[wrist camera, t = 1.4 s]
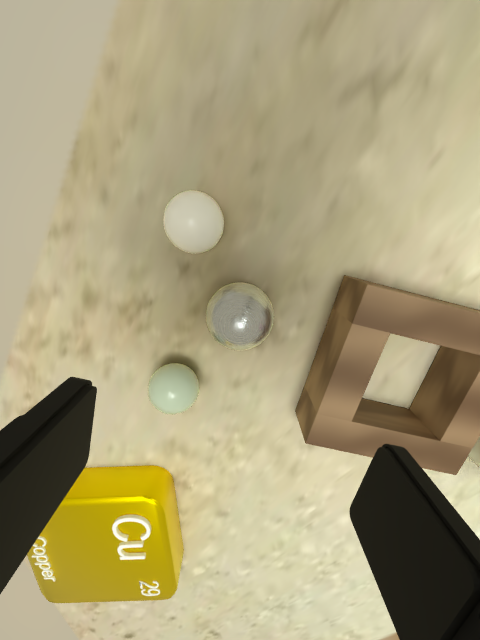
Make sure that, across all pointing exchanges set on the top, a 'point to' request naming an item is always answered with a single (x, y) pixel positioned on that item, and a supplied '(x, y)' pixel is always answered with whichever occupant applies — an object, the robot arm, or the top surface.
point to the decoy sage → (173, 388)
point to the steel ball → (239, 316)
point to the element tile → (112, 538)
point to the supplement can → (475, 453)
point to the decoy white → (193, 221)
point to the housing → (360, 361)
